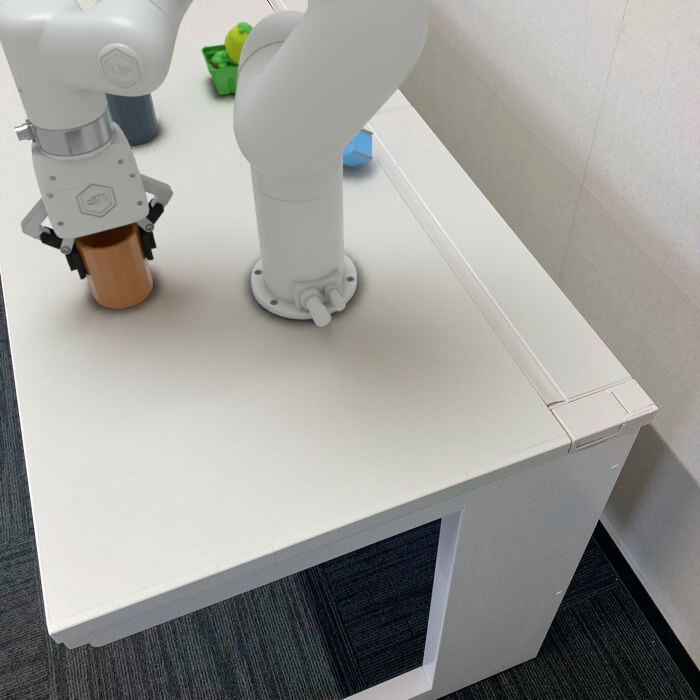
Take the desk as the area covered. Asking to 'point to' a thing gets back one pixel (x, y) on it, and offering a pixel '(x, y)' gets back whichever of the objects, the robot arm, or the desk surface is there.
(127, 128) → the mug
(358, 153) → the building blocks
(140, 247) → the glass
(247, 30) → the fruit basket
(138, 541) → the desk surface
